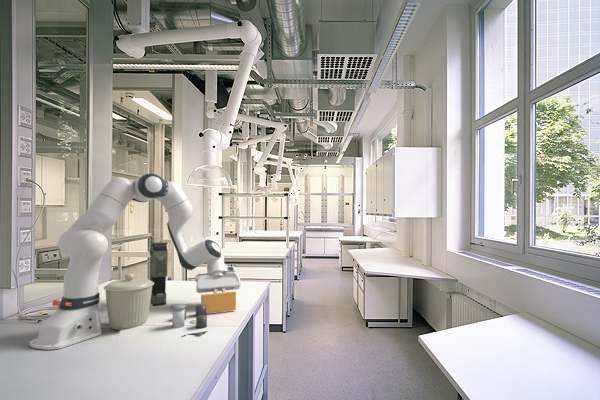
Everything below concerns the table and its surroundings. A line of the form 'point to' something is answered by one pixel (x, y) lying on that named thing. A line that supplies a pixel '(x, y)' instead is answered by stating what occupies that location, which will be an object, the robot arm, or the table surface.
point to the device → (158, 273)
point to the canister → (128, 301)
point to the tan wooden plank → (216, 303)
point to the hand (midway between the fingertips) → (220, 298)
